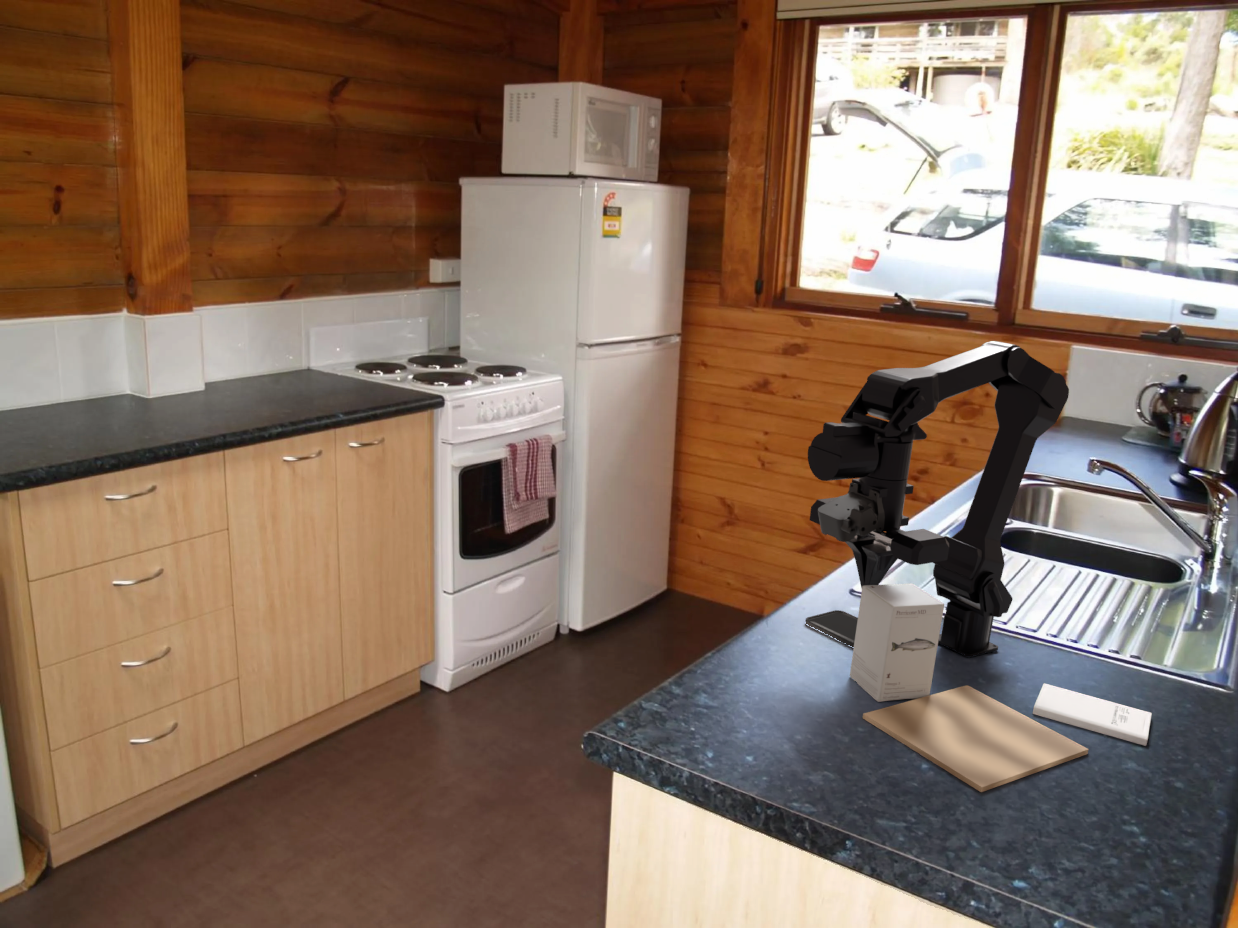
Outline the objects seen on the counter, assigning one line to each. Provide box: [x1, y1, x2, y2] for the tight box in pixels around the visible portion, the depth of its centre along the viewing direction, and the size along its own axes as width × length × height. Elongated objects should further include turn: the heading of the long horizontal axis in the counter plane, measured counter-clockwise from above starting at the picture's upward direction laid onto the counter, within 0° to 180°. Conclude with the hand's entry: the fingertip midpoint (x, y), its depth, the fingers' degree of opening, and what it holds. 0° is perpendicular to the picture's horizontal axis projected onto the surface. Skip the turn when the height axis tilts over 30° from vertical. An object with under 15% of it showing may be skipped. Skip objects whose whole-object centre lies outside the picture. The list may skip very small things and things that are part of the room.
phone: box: [805, 609, 858, 647], centre depth 142 cm, size 8×1×15 cm
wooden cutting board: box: [862, 685, 1089, 793], centre depth 116 cm, size 18×17×1 cm
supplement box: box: [849, 582, 945, 703], centre depth 125 cm, size 7×7×13 cm
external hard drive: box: [1032, 682, 1153, 747], centre depth 123 cm, size 2×8×12 cm
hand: (867, 593), depth 129 cm, fingers closed
